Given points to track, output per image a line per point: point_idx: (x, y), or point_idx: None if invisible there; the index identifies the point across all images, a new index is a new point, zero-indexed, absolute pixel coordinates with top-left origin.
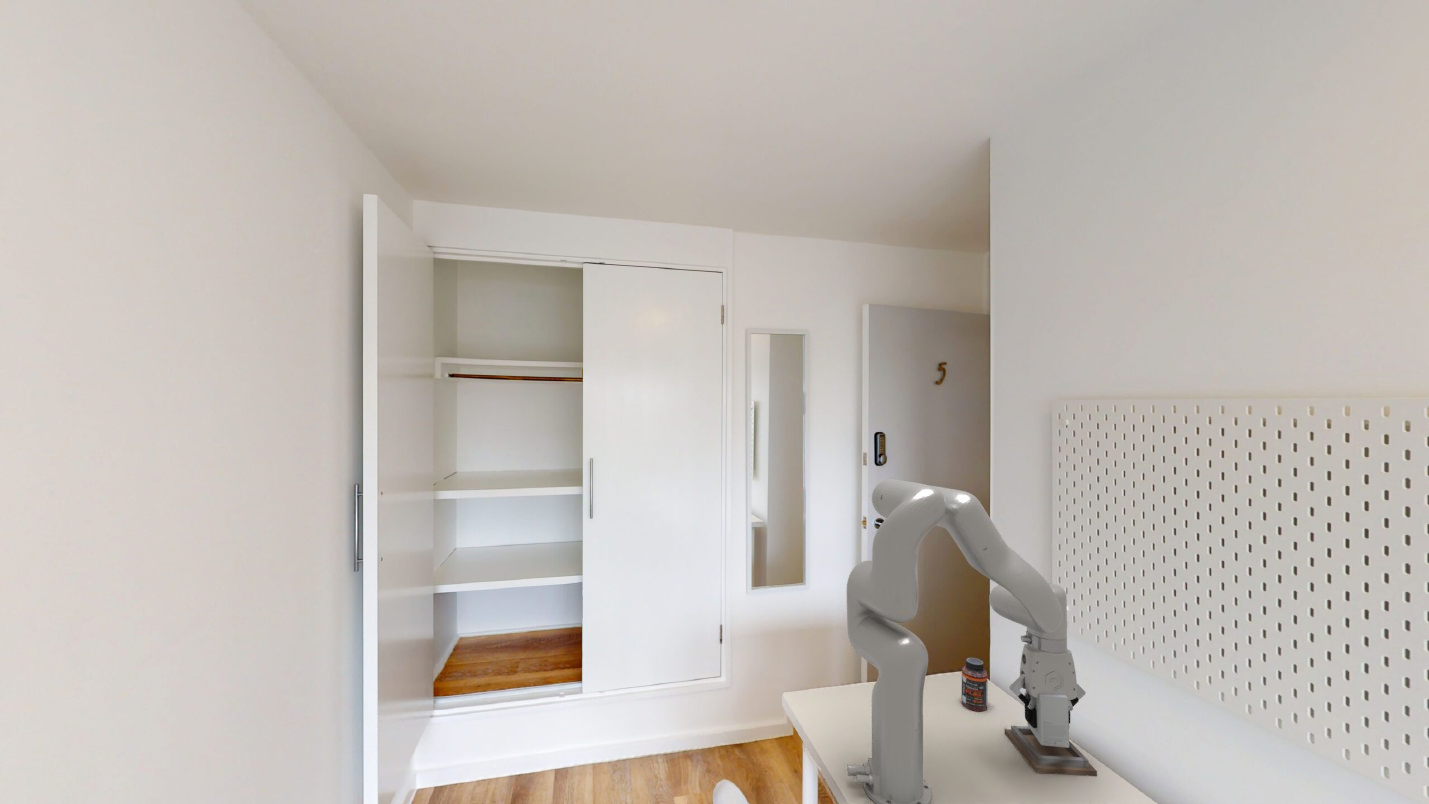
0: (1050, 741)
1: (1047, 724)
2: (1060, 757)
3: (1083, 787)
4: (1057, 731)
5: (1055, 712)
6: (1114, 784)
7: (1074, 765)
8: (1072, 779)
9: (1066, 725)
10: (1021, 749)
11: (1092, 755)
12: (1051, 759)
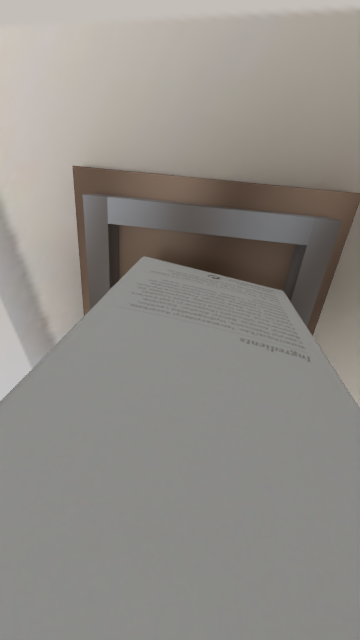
0: (240, 284)
1: (272, 341)
2: (211, 226)
3: (195, 68)
4: (197, 298)
5: (203, 409)
6: (35, 100)
7: (158, 199)
8: (207, 140)
9: (115, 306)
10: (312, 330)
11: (36, 300)
12: (269, 214)
